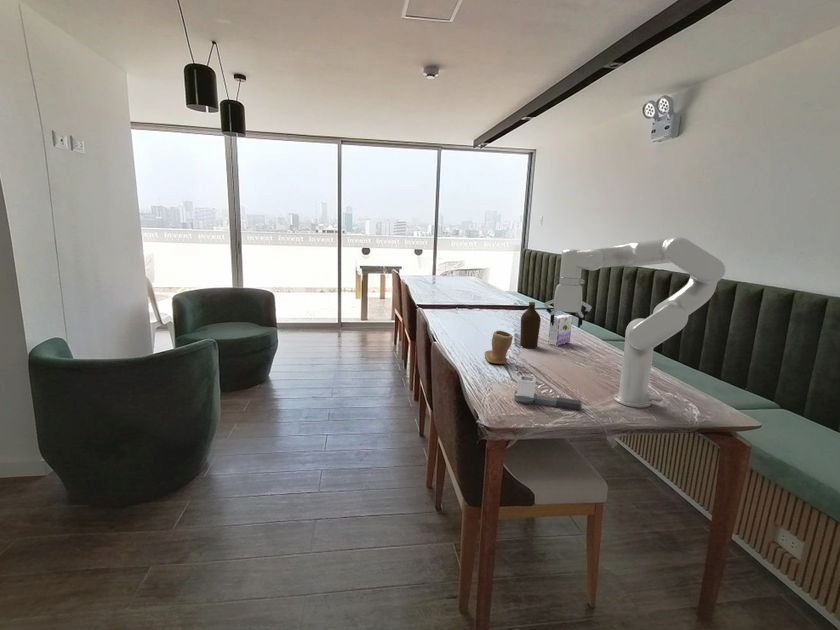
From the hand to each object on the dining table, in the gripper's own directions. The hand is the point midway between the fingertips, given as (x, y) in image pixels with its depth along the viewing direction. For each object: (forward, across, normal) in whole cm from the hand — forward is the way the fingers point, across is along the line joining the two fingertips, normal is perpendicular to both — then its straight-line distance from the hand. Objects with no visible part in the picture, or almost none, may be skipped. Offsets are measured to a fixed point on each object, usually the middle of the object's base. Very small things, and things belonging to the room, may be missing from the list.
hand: (565, 326), depth 163 cm
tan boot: (+26, +29, -30) cm, 49 cm away
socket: (+24, +12, +17) cm, 31 cm away
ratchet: (+26, +4, +17) cm, 31 cm away
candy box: (+26, +1, -80) cm, 84 cm away
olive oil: (+26, +17, -66) cm, 73 cm away
